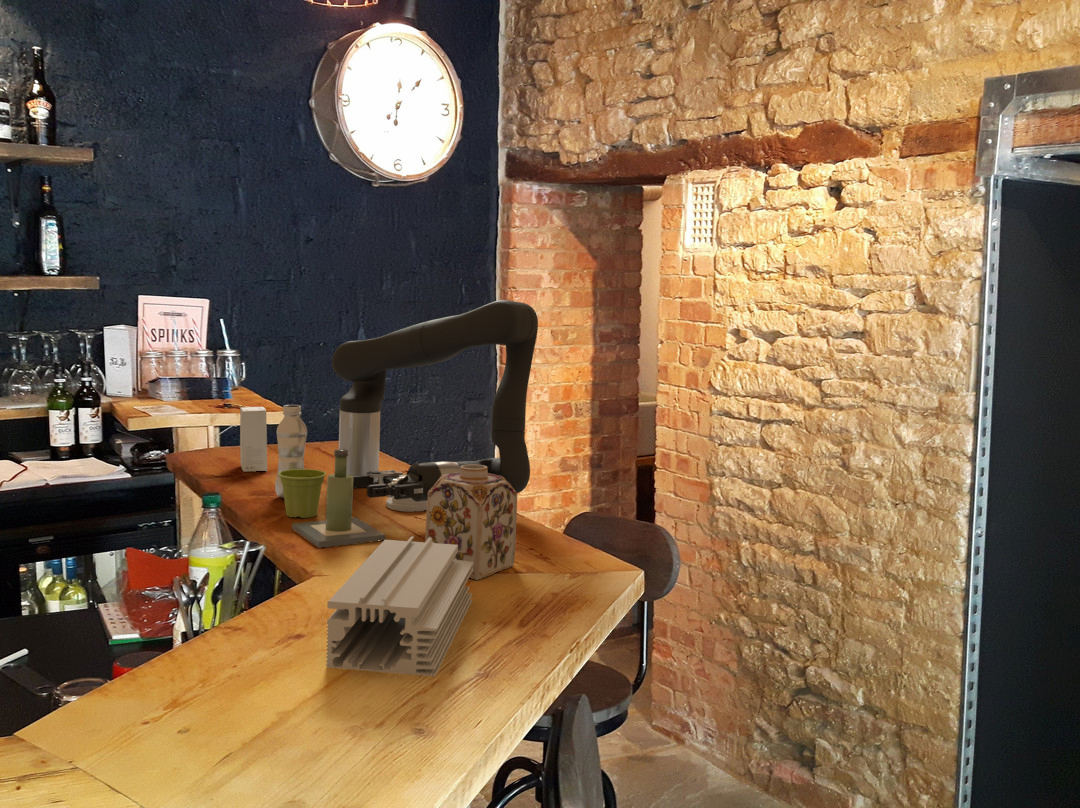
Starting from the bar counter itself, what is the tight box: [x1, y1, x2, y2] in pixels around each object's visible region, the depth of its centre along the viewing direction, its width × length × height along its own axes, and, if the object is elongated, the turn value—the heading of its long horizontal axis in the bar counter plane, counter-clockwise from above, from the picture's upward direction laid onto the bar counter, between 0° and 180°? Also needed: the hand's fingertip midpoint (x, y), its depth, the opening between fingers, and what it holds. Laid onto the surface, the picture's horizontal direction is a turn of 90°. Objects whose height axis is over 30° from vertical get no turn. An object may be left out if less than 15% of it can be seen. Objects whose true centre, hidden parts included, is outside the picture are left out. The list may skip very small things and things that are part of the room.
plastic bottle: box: [274, 404, 308, 499], centre depth 224 cm, size 6×7×20 cm
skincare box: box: [239, 406, 268, 473], centre depth 252 cm, size 8×6×15 cm
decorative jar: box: [424, 464, 518, 581], centre depth 180 cm, size 12×12×18 cm
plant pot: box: [278, 468, 327, 519], centre depth 211 cm, size 9×9×9 cm
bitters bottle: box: [325, 448, 354, 531], centre depth 197 cm, size 5×5×15 cm
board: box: [291, 516, 386, 549], centre depth 198 cm, size 14×13×1 cm
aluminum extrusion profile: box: [326, 536, 474, 677], centre depth 149 cm, size 14×31×10 cm, turn 175°
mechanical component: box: [385, 497, 427, 512], centre depth 223 cm, size 10×4×10 cm
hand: (358, 487), depth 199 cm, fingers open, 8 cm apart
